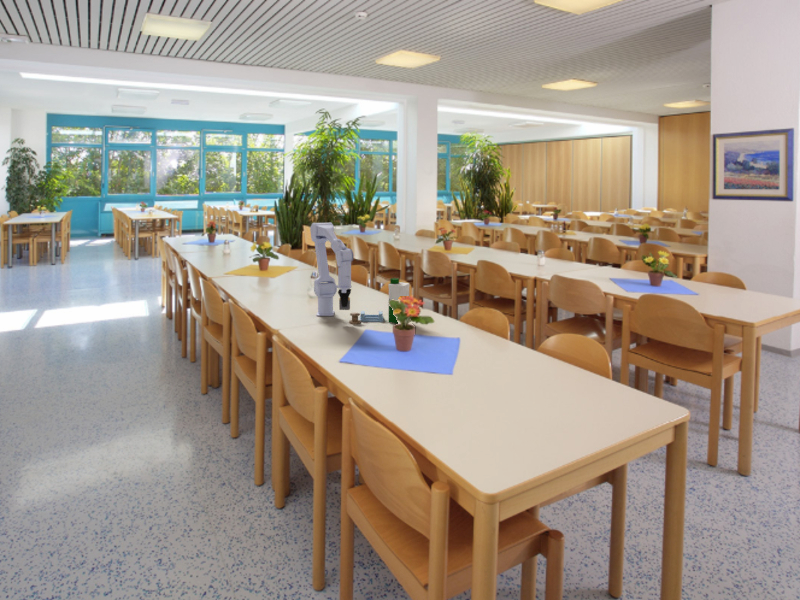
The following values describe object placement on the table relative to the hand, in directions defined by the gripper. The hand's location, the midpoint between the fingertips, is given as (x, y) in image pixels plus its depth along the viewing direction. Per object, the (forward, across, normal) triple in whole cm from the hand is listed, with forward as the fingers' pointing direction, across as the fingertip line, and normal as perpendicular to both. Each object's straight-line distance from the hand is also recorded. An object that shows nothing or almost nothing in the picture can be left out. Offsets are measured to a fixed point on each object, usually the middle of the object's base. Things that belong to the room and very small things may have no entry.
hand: (344, 305), depth 255 cm
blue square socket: (+8, -8, +12) cm, 16 cm away
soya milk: (+8, -4, +25) cm, 26 cm away
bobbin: (+8, -1, +5) cm, 9 cm away
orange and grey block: (+2, 0, 0) cm, 2 cm away
